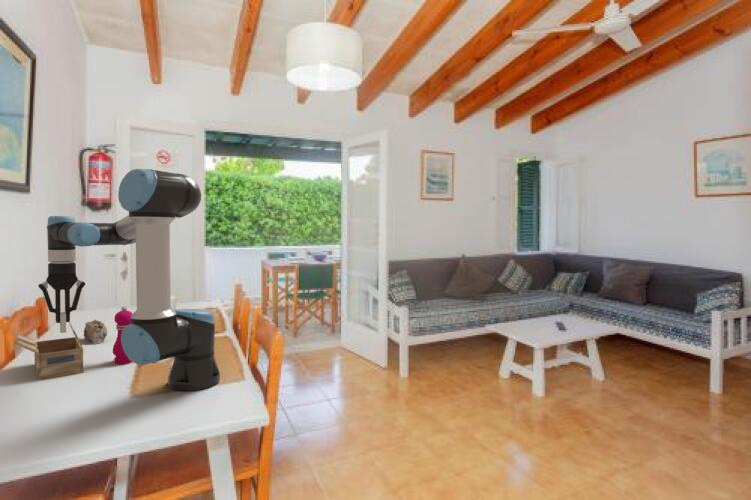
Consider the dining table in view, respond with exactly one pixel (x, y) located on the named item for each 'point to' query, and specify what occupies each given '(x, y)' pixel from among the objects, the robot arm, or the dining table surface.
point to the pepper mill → (122, 321)
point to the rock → (95, 331)
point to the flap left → (26, 343)
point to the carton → (58, 358)
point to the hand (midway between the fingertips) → (63, 331)
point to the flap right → (74, 333)
